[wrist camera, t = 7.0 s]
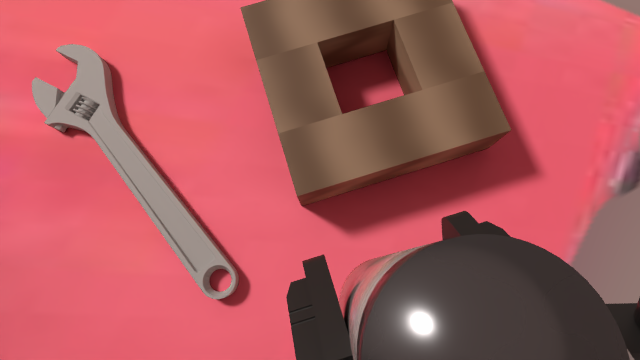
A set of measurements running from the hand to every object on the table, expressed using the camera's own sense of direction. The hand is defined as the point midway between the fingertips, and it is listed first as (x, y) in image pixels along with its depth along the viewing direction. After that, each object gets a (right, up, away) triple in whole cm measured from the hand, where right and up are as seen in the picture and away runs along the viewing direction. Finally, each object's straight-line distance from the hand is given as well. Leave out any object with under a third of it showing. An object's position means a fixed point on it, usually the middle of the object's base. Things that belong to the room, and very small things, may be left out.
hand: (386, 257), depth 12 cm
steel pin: (+1, -3, +4) cm, 5 cm away
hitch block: (+2, +10, +19) cm, 22 cm away
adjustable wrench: (-17, +3, +19) cm, 26 cm away
